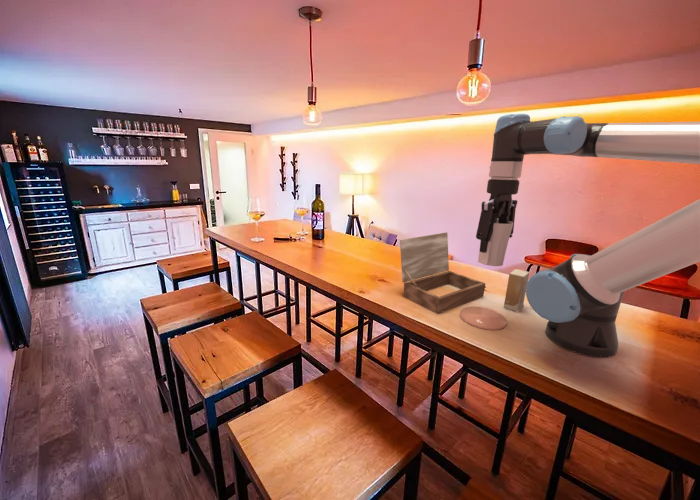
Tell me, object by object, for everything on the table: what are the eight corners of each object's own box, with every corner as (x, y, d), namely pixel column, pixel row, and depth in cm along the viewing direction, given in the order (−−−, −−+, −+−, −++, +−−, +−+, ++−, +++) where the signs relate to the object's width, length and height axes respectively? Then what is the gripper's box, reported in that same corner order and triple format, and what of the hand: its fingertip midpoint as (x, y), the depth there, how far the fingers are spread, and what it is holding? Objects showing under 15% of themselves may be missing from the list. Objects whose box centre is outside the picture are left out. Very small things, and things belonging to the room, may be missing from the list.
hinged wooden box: (483, 296, 105) (491, 242, 99) (438, 313, 91) (444, 252, 86) (440, 279, 120) (445, 232, 114) (396, 292, 106) (399, 239, 101)
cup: (510, 268, 79) (517, 224, 76) (479, 265, 81) (485, 223, 78) (501, 259, 87) (508, 219, 84) (473, 257, 89) (478, 218, 85)
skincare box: (509, 302, 100) (515, 268, 97) (523, 306, 97) (530, 271, 94) (502, 307, 96) (508, 272, 93) (517, 312, 93) (524, 276, 90)
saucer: (515, 321, 87) (515, 319, 87) (490, 334, 80) (490, 332, 80) (475, 305, 97) (476, 303, 97) (450, 315, 90) (451, 313, 90)
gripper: (509, 178, 86) (498, 252, 92) (468, 178, 75) (457, 263, 81) (537, 179, 80) (522, 258, 86) (496, 179, 69) (482, 270, 75)
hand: (491, 260), depth 84 cm, fingers closed on cup, 7 cm apart
